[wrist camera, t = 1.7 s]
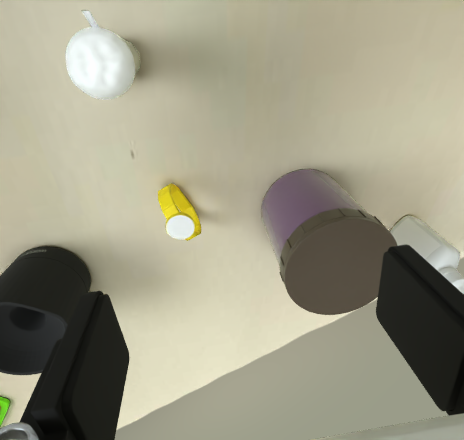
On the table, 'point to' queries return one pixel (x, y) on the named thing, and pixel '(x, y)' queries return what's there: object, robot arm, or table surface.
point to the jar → (300, 203)
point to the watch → (178, 214)
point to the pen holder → (37, 306)
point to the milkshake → (101, 61)
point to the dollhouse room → (3, 408)
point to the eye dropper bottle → (430, 248)
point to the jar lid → (335, 261)
